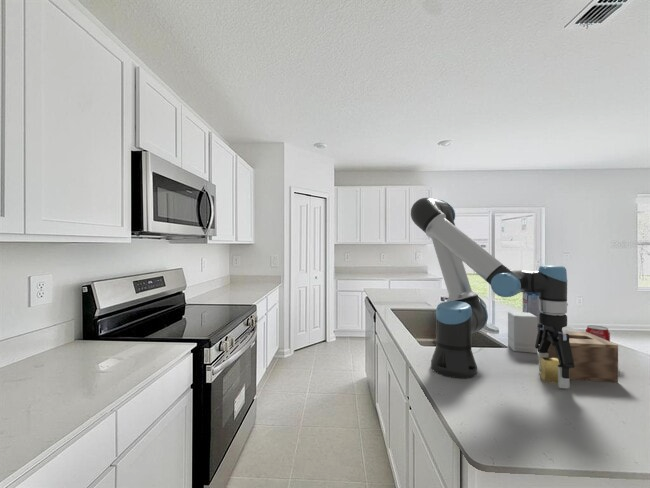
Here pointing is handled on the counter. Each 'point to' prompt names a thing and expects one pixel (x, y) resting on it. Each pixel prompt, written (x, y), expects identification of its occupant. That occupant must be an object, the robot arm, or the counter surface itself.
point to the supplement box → (522, 331)
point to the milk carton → (531, 304)
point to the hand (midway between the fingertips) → (553, 379)
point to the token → (549, 369)
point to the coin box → (591, 357)
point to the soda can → (599, 331)
